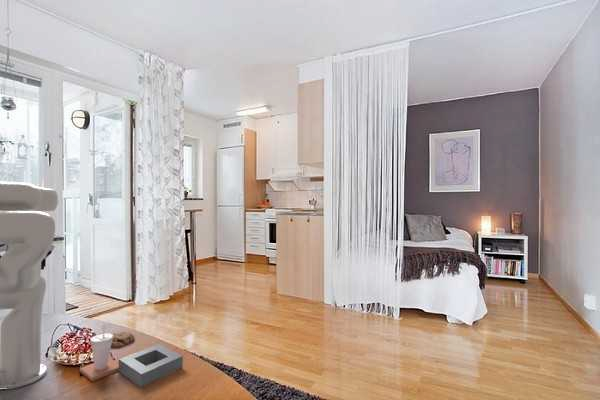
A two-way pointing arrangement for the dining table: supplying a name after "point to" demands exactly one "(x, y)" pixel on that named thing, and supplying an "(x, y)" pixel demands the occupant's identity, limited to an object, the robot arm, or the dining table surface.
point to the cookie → (121, 339)
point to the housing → (143, 374)
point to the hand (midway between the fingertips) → (24, 271)
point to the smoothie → (101, 349)
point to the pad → (96, 374)
